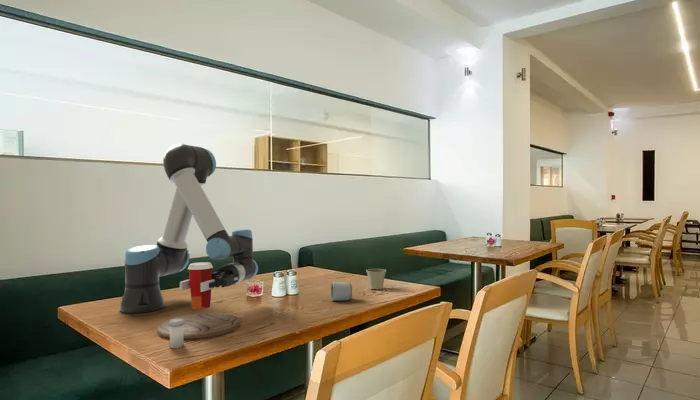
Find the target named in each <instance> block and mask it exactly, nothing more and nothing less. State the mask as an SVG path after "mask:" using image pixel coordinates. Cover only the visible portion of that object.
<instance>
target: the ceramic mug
mask: <svg viewBox="0 0 700 400" xmlns="http://www.w3.org/2000/svg"><path fill="white" fill-rule="evenodd" d="M352 297H353V285H352V284H351V283H350V282H343V281H342V282H339V281H332V282H331V284H330V298H331V301H332V302H343V301H345V302H348V301H350V300H352Z"/></svg>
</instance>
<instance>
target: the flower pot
mask: <svg viewBox="0 0 700 400" xmlns="http://www.w3.org/2000/svg"><path fill="white" fill-rule="evenodd" d="M365 271H366V275H367V279H368V288H370V289H369V290H371V289H373V290H374V289H381V290H383V289H384V282H385V275H386V273H387V270H386V269H382V268H368V269H365ZM382 288H383V289H382Z"/></svg>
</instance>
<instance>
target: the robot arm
mask: <svg viewBox="0 0 700 400" xmlns="http://www.w3.org/2000/svg"><path fill="white" fill-rule="evenodd" d="M162 163H163V165H162V166H163V169H164V172H165V174H166V176H167V178H168V180H169V182H170V183H172V184H175V192H174V196H173V199H172V201H171V202H172V203H171V206H170V207H171V208H170V210H169V213H168V217H167V221H166V224H165V228H164V231H163V235H162V236H161V237H159V238H158V239H157V242H156V244H144V245H137V246H134V247H130V248H129V249H127V250H126V252H125V258H124V279H125V280H124V283H125V285H124V292H123V295H122V299H121V301H120V304H119V311H120V312H121V313H124V314H125V313H126V314H139V313H140V314H141V313H148V312H153V311H157V310H161V309H162V308H164V306H165V299H164V297H163V295H162V294H163V293H162V291H161V288H160V278H161V277H164V276H168V275H169V276H170V275H175V274H177V273H180V272H182V271H183V270H185V269H186V267H187V266H189V262H190V258H191V257H190V253H189V249H188V246H189V245H188V243H187V242H186V239H187V236H188V235H187V234H188V231H189V227H190V224H191V221H192V217H193V219H194V220H195V222H196V224H197V226H198V228H199V229H200V231H201V233H202V235H203V236H204V239H205V240H206V241H207V243H206V246H205V249H206V250H205V251H206V254H207V256H208V257H209V258H210V259H211V260H217V261H218V260H225V259H228V258H231V257H232V261H233V262H231V263H227V264H224V265H221V266H220V267H218V268H217V270H216V271H214V272H212V280H208V281H205V282H202V283H200V286H201V292H204V291H207V290H209V289H211V290H212V289H215V288H220V287H221V288H226V287H230V286H232V285H233V286H236V284H239V283H241V282H244V281H247V280H250V279H252V278H253V277H255V276H256V275H257V274H258V271H259V266H258V263H257V262H256V261H255V260H254V246H253V245H254V243H253V241H254V239H253V232H252V230H251V229H234V230H232V232H231V236H230V235H229V234H228V231H227V230H226V229H225V226H224V225H223V223H222V221H221V219H220V218H219V215H218V214H217V212H216V210H215V209H214V207H213V205H212V203H211V201H210V200H209V198H208V196H207V194H206V193H205V191H204V189H203V187H202V186H204V185H205V184H206V182H207V179H208V177H210V176H211V175H213V174H214V173H215V170H216V169H217V160H216V157H215V155H214V153H212V151H210V150H209V149H207V148H203V146H195V145H188V144H185V143H177V144H174V145H171V146H170V147H169V148H168V149H167V150H166V151H165V153H164V155H163V160H162ZM189 289H190V276H188V277H186V279H185V280H183V281H182V280H181V281H180V282H179V291H180V292H181V291H186V290H189Z"/></svg>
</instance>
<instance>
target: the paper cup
mask: <svg viewBox="0 0 700 400" xmlns="http://www.w3.org/2000/svg"><path fill="white" fill-rule="evenodd" d="M213 268H214V266H213V264H212V263H211V262H208V261H206V262H205V261H204V262H202V261H201V262H192V263H190V264H188V268H187V270H188V273H189V274H188V275H189V276H188V277H190V288H189V289H190V290H189V291H190V301H191V309H193V310H205V309H209V308H210V307H211V298H212V289H209V290H207V291H204V292H201V286H200V283H202V282H205V281H208V280H212V273H213Z"/></svg>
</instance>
